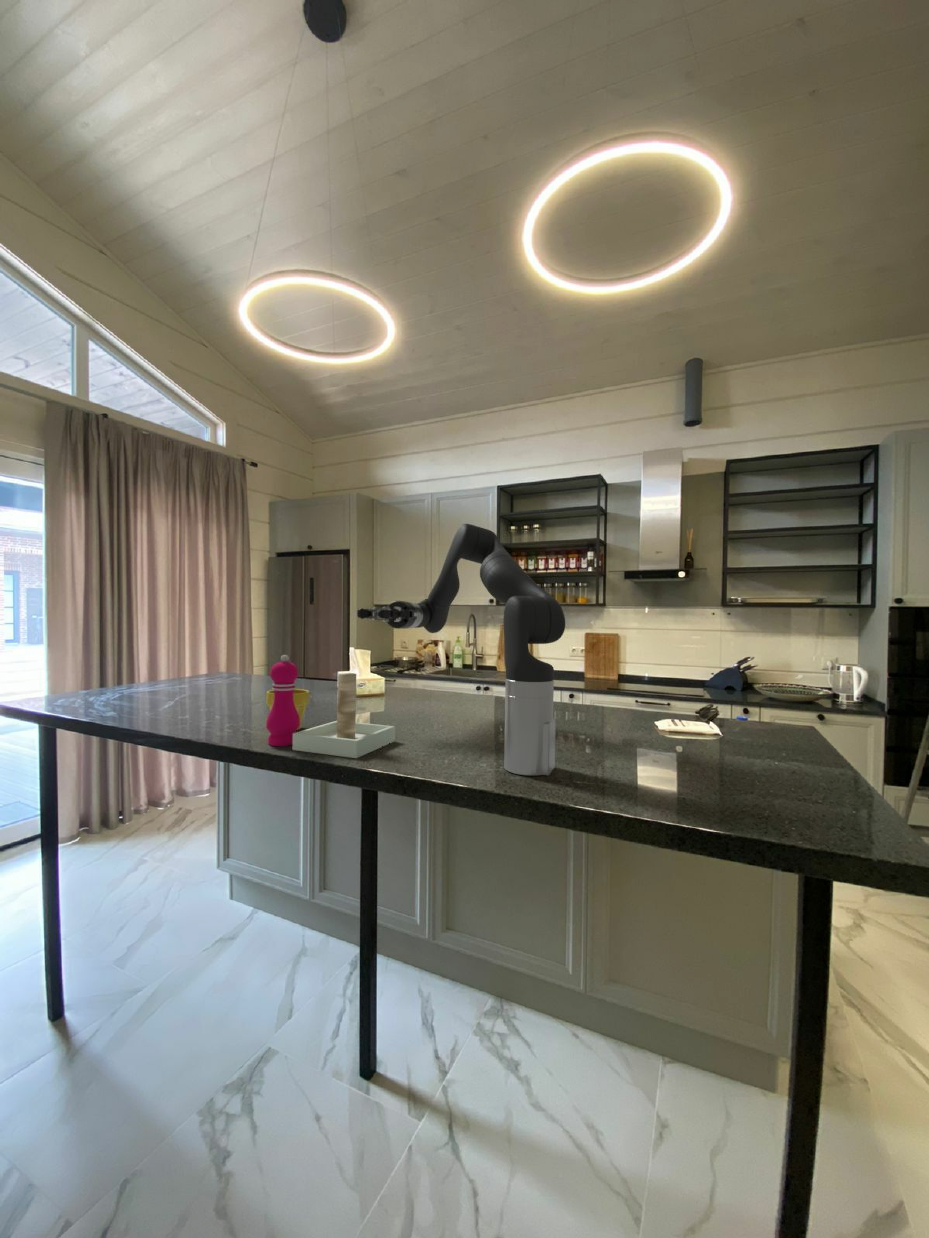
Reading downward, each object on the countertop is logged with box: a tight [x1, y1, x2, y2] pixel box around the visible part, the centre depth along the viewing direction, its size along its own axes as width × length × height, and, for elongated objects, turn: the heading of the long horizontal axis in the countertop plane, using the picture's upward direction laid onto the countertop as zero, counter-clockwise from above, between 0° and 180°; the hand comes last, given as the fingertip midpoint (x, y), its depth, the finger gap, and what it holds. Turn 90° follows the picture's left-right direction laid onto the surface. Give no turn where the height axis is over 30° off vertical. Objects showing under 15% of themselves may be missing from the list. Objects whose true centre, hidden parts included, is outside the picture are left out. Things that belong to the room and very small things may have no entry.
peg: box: [336, 672, 357, 739], centre depth 111 cm, size 4×4×16 cm
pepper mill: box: [265, 654, 300, 747], centre depth 113 cm, size 7×7×20 cm
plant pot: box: [265, 688, 310, 731], centre depth 127 cm, size 10×10×10 cm
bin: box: [292, 720, 396, 759], centre depth 111 cm, size 16×16×4 cm
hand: (373, 613), depth 122 cm, fingers open, 8 cm apart
